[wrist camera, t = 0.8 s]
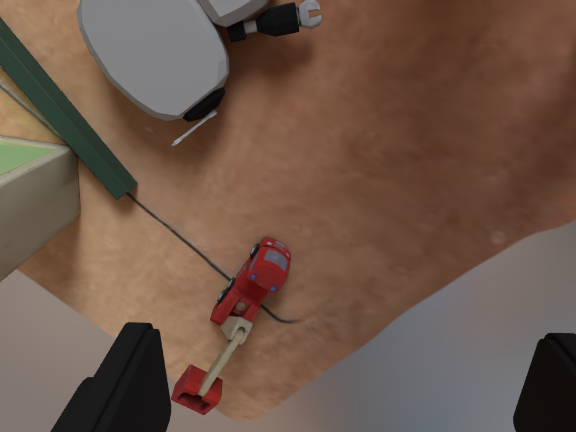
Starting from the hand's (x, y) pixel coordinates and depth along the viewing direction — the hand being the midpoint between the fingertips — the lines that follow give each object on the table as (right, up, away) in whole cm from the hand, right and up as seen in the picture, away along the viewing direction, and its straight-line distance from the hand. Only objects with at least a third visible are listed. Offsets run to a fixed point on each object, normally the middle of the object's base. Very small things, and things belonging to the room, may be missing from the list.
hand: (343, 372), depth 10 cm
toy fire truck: (-6, -3, +30) cm, 31 cm away
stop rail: (-20, +13, +23) cm, 33 cm away
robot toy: (-8, +19, +20) cm, 29 cm away
